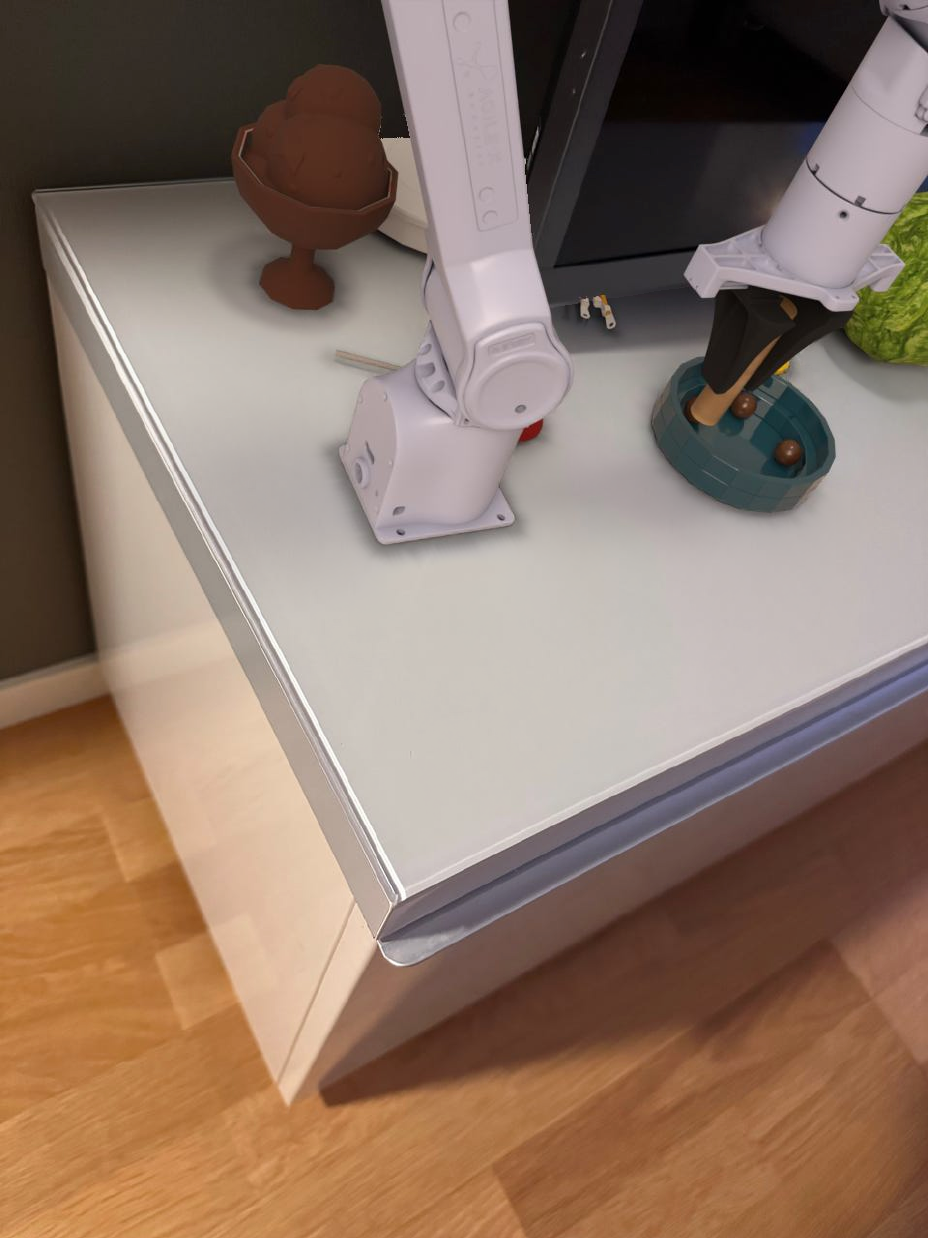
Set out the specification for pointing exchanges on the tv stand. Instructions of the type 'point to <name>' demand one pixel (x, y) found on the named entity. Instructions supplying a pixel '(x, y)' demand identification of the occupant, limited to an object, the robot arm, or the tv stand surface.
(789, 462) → the hazelnut
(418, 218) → the lid
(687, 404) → the hazelnut
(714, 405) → the stirring stick
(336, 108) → the ice cream bowl
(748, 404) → the hazelnut
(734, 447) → the bowl
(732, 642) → the tv stand surface
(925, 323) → the lettuce
